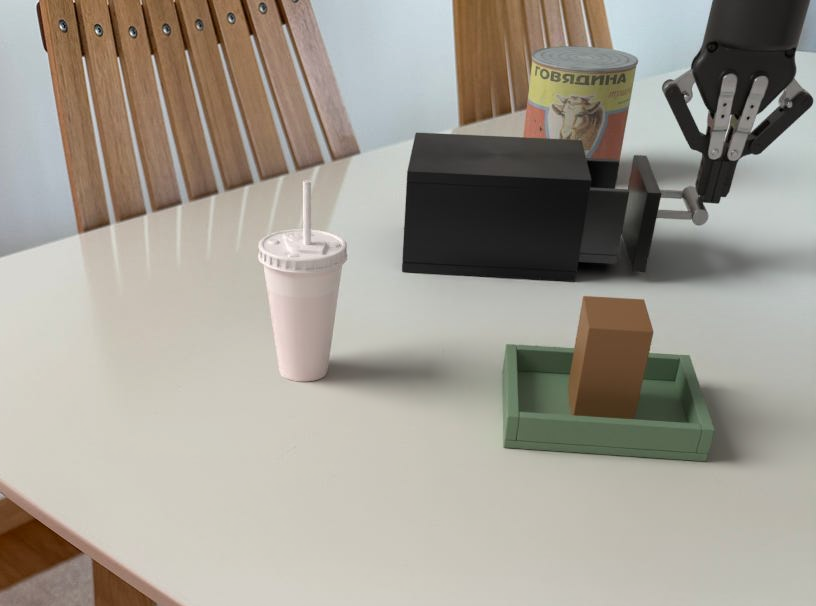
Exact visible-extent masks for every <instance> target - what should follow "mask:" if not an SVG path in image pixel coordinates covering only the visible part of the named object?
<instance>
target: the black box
mask: <svg viewBox="0 0 816 606" xmlns="http://www.w3.org/2000/svg"><path fill="white" fill-rule="evenodd" d="M405 187H406V188H405V205H404V223H403V224H404V225H403V243H402V258H401V259H402V263H401V272H402V273H418V274H419V273H420V274H433V275H450V276H451V275H452V276H453V275H454V276H470V277H471V276H472V277H473V276H474V277H490V278H506V279H524V280H541V281H556V282H557V281H562V282H575V281H576V278H577V271H578V265H579V262H578V260H579V254H580V248H581V242H582V236H583V230H584V224H585V217H586V211H587V205H588V199H589V193H590V187H591V176H590V172H589V168H588V164H587V160H586V155H585V151H584V147H583V143H582V140H570V139H548V138H526V137H521V136H502V135H478V134H461V133H460V134H459V133H457V134H455V133H439V132H438V133H436V132H415V133H414V138H413V143H412V148H411V153H410V157H409V162H408V166H407V171H406V186H405Z"/></svg>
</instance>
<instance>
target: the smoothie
mask: <svg viewBox="0 0 816 606" xmlns="http://www.w3.org/2000/svg"><path fill="white" fill-rule="evenodd" d="M347 248H348V244H347V242H346V240H345V239H344V238H342V237H341V236H339V234H336V233H332V232H329V231H325V230H320V229H312V180H310V179H305V180H302V228H292V229H284V230H278V231H275V232H272V233H269V234H268V235H265V236H264V237H263V238H261V239H260V241H259V242H258V254H257V259H258V261H259V262H260V263H261V264H262V265H263V271H264V277H265V278H264V279H265V285H266V291H267V297H268V304H269V311H270V317H271V325H272V331H273V337H274V345H275V350H276V351H275V352H276V357H277V364H278V371H279V374H280V375H281V376H282V377H283V378H285V379H287V380H290V381H295V382H314V381H317V380H320V379H323V378H325V376H326V375H327V374H328V370H329V363H330V357H331V349H332V341H333V335H334V328H335V320H336V314H337V305H338V299H339V291H340V287H341V286H340V285H341V277H342V270H343V265H345V263H346V262H347V261H348V253H347V252H348V249H347Z"/></svg>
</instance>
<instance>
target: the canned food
mask: <svg viewBox="0 0 816 606" xmlns="http://www.w3.org/2000/svg"><path fill="white" fill-rule="evenodd" d="M531 59H532V60H531V61H532V62H531V68H530V77H529V85H528V86H529V87H528V94H527V95H528V96H527V101H526V111H525V118H524V119H525V120H524V128H523V137H526V138H548V139H570V140H582V143H583V147H584V151H585V155H586V158H598V159H619V161H620V162H621V156H622V149H623V144H624V138H625V132H626V128H627V121H628V116H629V110H630V104H631V99H632V92H633V87H634V81H635V78H636V77H635V76H636V70H637V66H638V64H639V59H638V57H637V56H636V55H633V54H631V53H628V52H626V51H621V50H617V49H612V48H605V47H597V46H584V45H583V46H582V45H581V46H580V45H565V46H564V45H562V46H561V45H560V46H551V47H544V48H539V49H538V50H535V51H533V53H532V54H531ZM618 178H619V174H618V175H617V179H618Z"/></svg>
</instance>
